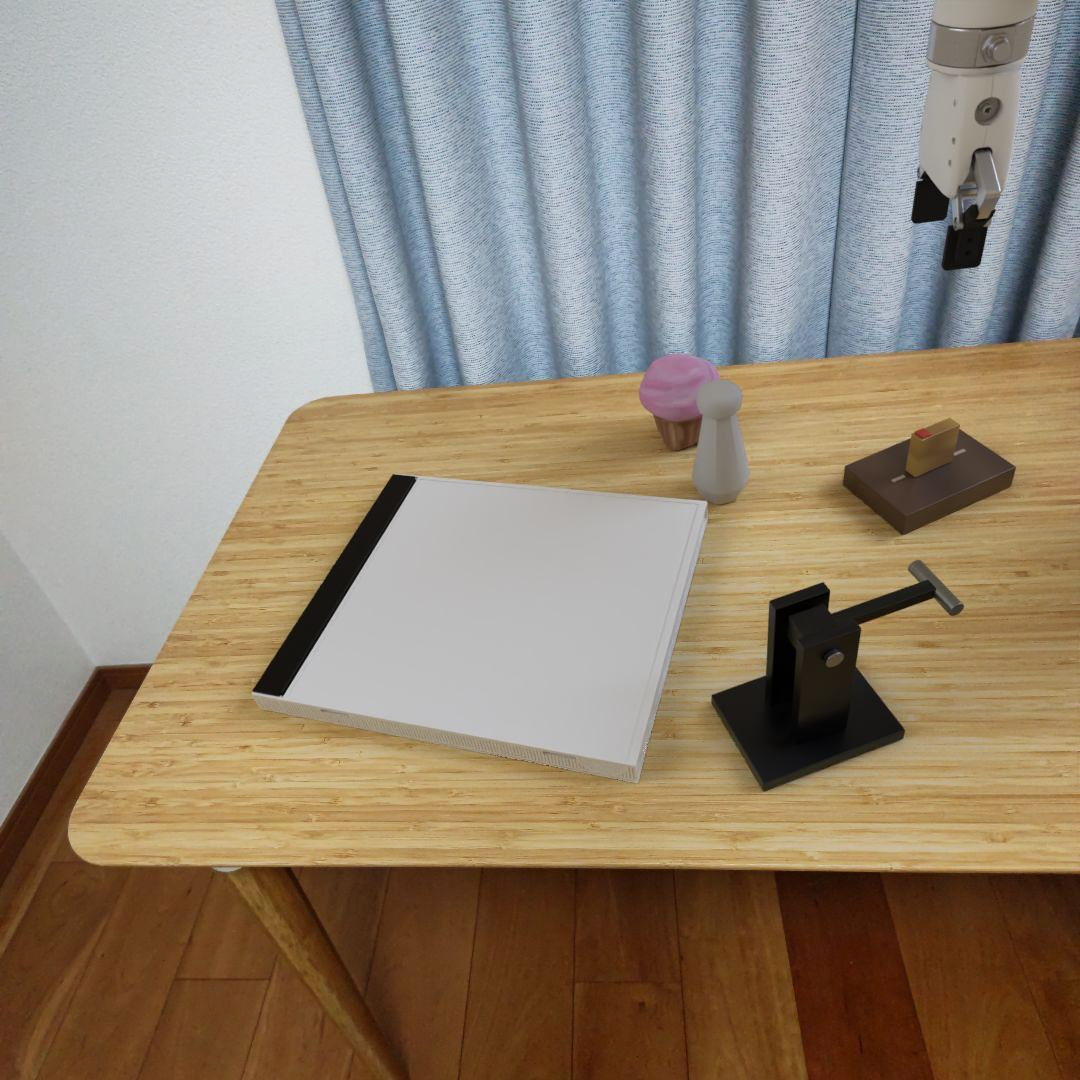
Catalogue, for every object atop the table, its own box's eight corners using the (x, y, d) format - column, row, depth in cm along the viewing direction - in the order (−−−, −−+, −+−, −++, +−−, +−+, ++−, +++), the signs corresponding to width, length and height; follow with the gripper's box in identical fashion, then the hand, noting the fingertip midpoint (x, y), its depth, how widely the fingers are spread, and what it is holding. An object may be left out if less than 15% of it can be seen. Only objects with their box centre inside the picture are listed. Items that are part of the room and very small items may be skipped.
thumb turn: (942, 454, 89) (950, 415, 86) (952, 461, 88) (961, 422, 85) (905, 470, 88) (911, 431, 85) (915, 477, 87) (922, 438, 84)
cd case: (250, 692, 79) (393, 471, 100) (259, 709, 81) (399, 488, 102) (635, 766, 68) (707, 501, 89) (637, 783, 70) (707, 519, 91)
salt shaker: (757, 481, 94) (760, 376, 85) (737, 515, 91) (737, 410, 82) (705, 469, 97) (702, 366, 88) (683, 502, 93) (678, 398, 85)
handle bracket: (840, 656, 76) (854, 548, 68) (903, 739, 70) (928, 630, 61) (711, 703, 75) (708, 598, 66) (763, 792, 68) (768, 688, 59)
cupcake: (665, 471, 97) (660, 394, 91) (630, 431, 104) (623, 356, 97) (737, 444, 99) (738, 366, 92) (698, 406, 105) (696, 331, 98)
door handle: (919, 574, 69) (923, 551, 67) (961, 618, 65) (967, 596, 63) (777, 624, 67) (778, 602, 66) (812, 672, 63) (814, 650, 62)
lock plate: (945, 440, 94) (949, 420, 93) (1011, 486, 88) (1017, 465, 86) (842, 484, 92) (844, 464, 90) (902, 535, 85) (906, 514, 84)
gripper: (1072, 66, 65) (1020, 282, 77) (990, 6, 78) (956, 200, 89) (964, 81, 66) (928, 293, 77) (900, 19, 79) (878, 209, 90)
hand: (943, 243), depth 83 cm, fingers open, 9 cm apart
